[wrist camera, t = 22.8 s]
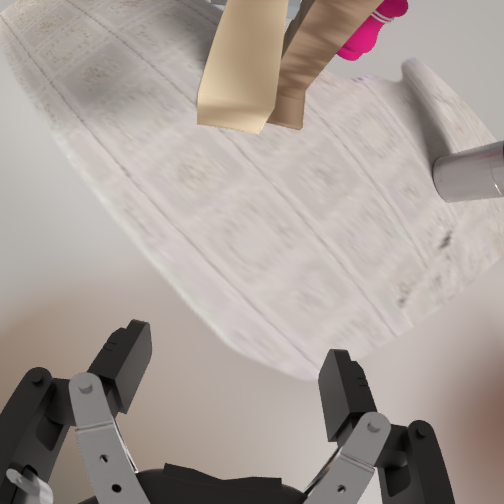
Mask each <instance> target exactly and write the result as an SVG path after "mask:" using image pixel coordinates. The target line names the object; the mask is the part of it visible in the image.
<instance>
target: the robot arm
mask: <svg viewBox="0 0 504 504" xmlns="http://www.w3.org/2000/svg"><path fill="white" fill-rule="evenodd" d="M433 178H434V183H435V186H436V189H437V191H438V193H439V195H440V196H441V197H442V199H444V200H445V201H446V202H459V201H469V200H479V199H489V198H499V197H504V141H500V142H496V143H492V144H488V145H484V146H481V147H477V148H473V149H469V150H465V151H462V152H458V153H454V154H451V155H447V156H443V157H440V158H438V159H437V160H436V161H435V163H434V167H433ZM151 355H152V342H151V332H150V324H149V323H148V322H144V321H139V320H135V319H133V320H131V322H130V323H129V325H128V326H127V328H126V329H125V328H119V329H118V330H116V331H115V332H113V333H112V334H111V336H110V337H109V338H108V340H107V343H105V344H104V346H103V349H101V351H100V352H99V353H98V355H97V357H96V358H95V360H94V361H93V363H92V364H91V366H90V367H89V369H88V371H87V372H84V373H79V374H77V375H75V376H74V377H73V378H72V379H71V380H68V379H58V378H52V376H51V374H50V372H49V371H48V370H47V369H45V368H42V367H36V368H33V369H31V370H29V371H28V372H27V373H26V374H25V376H24V377H23V379H22V380H21V382H20V383H19V385H18V386H17V388H16V390H15V391H14V393H13V394H12V396H11V397H10V399H9V401H8V402H7V404H6V406H5V407H4V409H3V411H2V413H1V414H0V504H53V494H52V491H51V489H50V487H49V486H48V485H47V483H48V480H49V478H50V475H51V472H52V470H53V467H54V464H55V461H56V459H57V456H58V454H59V451H60V449H61V446H62V444H63V442H64V439H65V437H66V434H67V432H68V430H69V428H70V426H77V430H75V435H76V439H77V442H78V446H79V449H80V453H81V456H82V460H83V462H84V466H85V469H86V471H87V474H88V477H89V480H90V483H91V485H92V488H93V490H94V493H95V496H93V497H91V498H89V499H87V500H85V501H82V502H80V503H78V504H357V502H358V500H359V499H360V497H361V495H362V494H363V492H364V490H365V489H366V487H367V485H368V484H369V482H370V480H371V478H372V476H373V474H374V472H375V469H374V468H373V467H377V469H378V475H379V481H380V488H381V495H382V503H383V504H455V501H454V497H453V492H452V488H451V485H450V481H449V478H448V474H447V470H446V467H445V463H444V460H443V457H442V454H441V450H440V447H439V444H438V441H437V438H436V435H435V433H434V430H433V428H432V426H431V425H430V424H429V423H427V422H425V421H422V420H416V421H413V422H412V423H411V424H410V425H409V426H408V427H406V426H399V425H394V424H390V422H389V420H388V419H387V418H386V417H385V416H384V415H383V414H381V413H378V412H377V409H376V406H375V403H374V400H373V397H372V394H371V391H370V388H369V387H368V382H367V380H366V376H365V374H364V371H363V369H362V367H361V366H360V365H359V364H358V363H357V362H356V361H351V359H350V356H349V353H348V351H347V350H341V349H330V350H329V352H328V354H327V357H326V359H325V361H324V364H323V366H322V368H321V370H320V373H319V379H318V384H319V390H320V395H321V401H322V407H323V413H324V419H325V424H326V430H327V437H328V442H337V445H338V447H337V448H336V449H335V451H334V452H333V454H332V455H331V457H330V458H329V459H328V461H327V462H326V464H325V465H324V466H323V468H322V469H321V470H320V472H319V473H318V474H317V476H316V477H315V478H314V479H313V480H312V481H311V483H310V484H309V485H308V486H307V487H306V488H305V489H304V490H303V492H301V491H299V490H297V489H295V488H293V487H290V486H287V485H284V484H282V481H281V478H267V477H247V478H239V479H230V480H221V479H218V478H215V477H212V476H209V475H207V474H204V473H202V472H199V471H197V470H194V469H191V468H186V467H181V466H176V465H172V464H167V463H165V466H164V469H150V470H145V471H141V472H138V470H137V468H136V466H135V464H134V462H133V460H132V458H131V455H130V453H129V451H128V449H127V447H126V444H125V442H124V439H123V437H122V434H121V432H120V429H119V427H118V424H117V421H116V419H115V418H116V416H117V414H118V412H121V413H124V414H127V411H128V409H129V407H130V404H131V402H132V400H133V397H134V395H135V393H136V391H137V388H138V386H139V384H140V381H141V379H142V377H143V375H144V373H145V370H146V368H147V366H148V364H149V361H150V359H151Z"/></svg>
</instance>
